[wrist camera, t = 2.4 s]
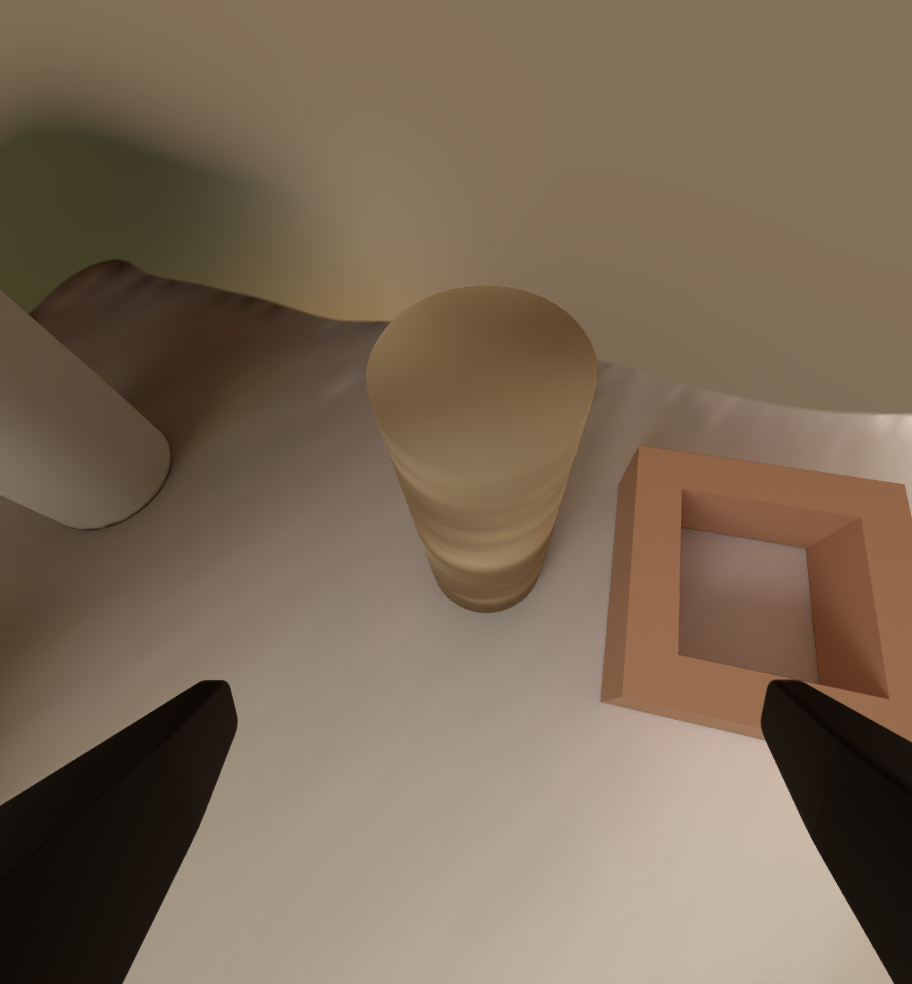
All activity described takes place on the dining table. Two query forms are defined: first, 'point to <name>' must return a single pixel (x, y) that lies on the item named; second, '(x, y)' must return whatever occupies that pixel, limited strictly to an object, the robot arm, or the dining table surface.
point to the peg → (483, 431)
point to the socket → (772, 518)
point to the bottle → (70, 433)
